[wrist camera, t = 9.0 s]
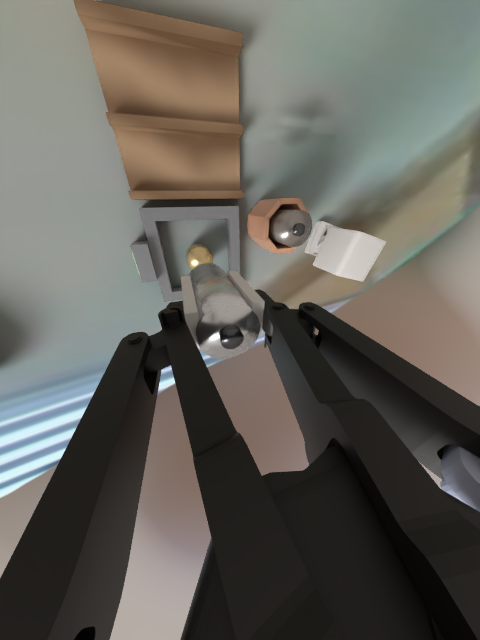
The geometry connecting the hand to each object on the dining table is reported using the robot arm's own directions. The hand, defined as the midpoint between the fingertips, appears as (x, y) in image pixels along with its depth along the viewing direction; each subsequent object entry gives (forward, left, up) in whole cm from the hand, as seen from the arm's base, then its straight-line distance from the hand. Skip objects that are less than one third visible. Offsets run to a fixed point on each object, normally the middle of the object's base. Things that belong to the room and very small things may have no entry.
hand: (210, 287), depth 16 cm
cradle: (0, -1, -15) cm, 15 cm away
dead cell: (-4, +12, -14) cm, 19 cm away
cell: (0, 0, -2) cm, 2 cm away
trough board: (-14, 0, -15) cm, 20 cm away
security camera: (0, +23, -15) cm, 28 cm away
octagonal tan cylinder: (-4, +12, -15) cm, 19 cm away
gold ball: (0, 0, -15) cm, 15 cm away
